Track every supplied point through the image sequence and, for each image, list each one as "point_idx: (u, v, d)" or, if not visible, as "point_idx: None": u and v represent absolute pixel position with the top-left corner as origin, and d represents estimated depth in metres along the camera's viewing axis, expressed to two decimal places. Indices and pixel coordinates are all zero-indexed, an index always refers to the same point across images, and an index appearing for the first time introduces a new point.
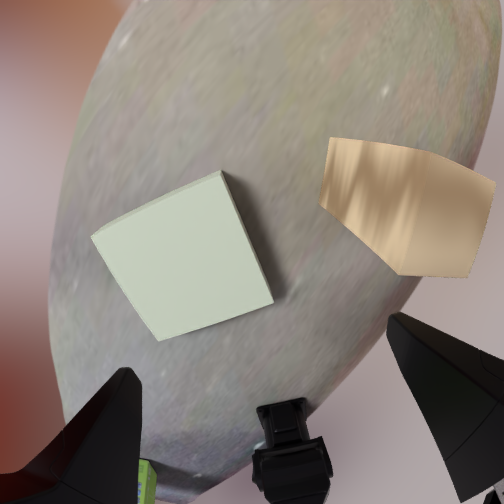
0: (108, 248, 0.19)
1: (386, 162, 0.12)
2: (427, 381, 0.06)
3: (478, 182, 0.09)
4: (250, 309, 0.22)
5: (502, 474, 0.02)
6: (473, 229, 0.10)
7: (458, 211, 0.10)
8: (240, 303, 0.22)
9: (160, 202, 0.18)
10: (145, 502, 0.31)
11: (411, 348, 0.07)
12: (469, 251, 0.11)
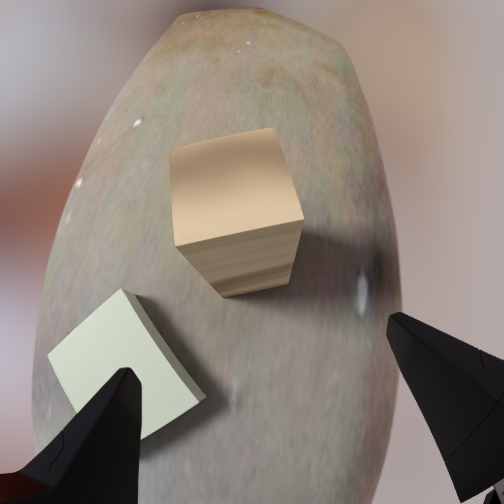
0: (58, 363, 0.19)
1: None
2: (427, 381, 0.06)
3: (241, 138, 0.13)
4: (177, 413, 0.17)
5: (502, 474, 0.02)
6: (263, 171, 0.12)
7: (224, 168, 0.12)
8: (166, 408, 0.17)
9: (86, 319, 0.20)
10: None
11: (411, 348, 0.07)
12: (277, 191, 0.12)
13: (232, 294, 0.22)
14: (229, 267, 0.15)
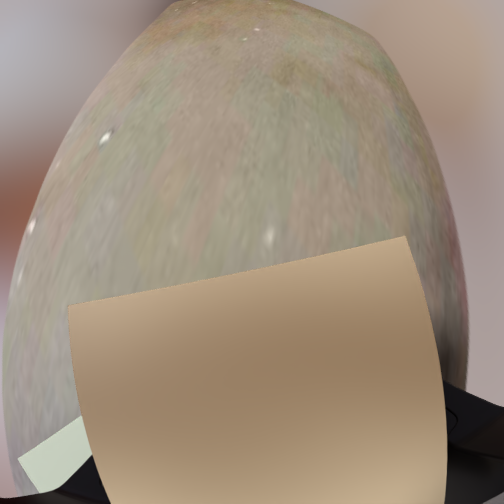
0: (31, 472, 0.09)
1: None
2: None
3: (304, 287, 0.04)
4: None
5: None
6: (379, 435, 0.03)
7: (247, 428, 0.03)
8: None
9: (50, 438, 0.11)
10: None
11: None
12: (405, 485, 0.02)
13: None
14: None
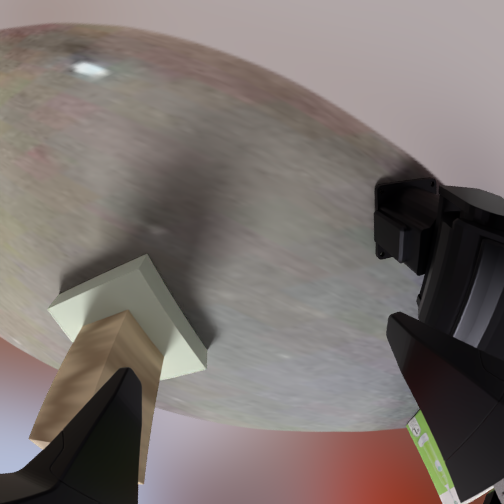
0: None
1: None
2: (427, 381, 0.06)
3: None
4: (150, 291, 0.19)
5: (502, 474, 0.02)
6: None
7: None
8: (144, 300, 0.19)
9: None
10: None
11: (411, 348, 0.07)
12: None
13: (157, 354, 0.21)
14: None
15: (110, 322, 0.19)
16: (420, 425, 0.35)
